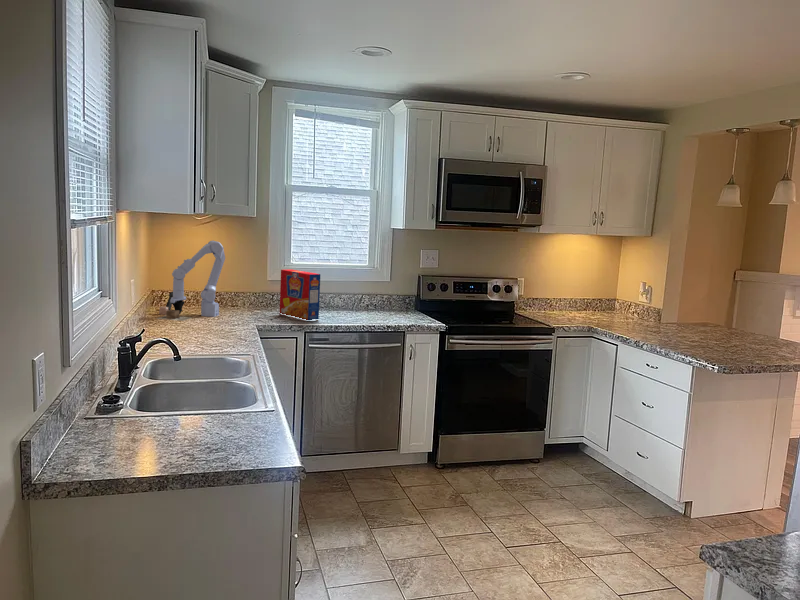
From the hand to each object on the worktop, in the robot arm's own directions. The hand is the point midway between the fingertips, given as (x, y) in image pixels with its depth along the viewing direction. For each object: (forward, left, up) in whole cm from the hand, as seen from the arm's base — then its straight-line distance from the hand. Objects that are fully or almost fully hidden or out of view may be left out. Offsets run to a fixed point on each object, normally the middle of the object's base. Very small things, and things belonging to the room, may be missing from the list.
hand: (178, 314), depth 340 cm
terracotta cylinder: (+10, -3, -2) cm, 11 cm away
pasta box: (-61, -31, -2) cm, 68 cm away
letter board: (-1, +6, -2) cm, 7 cm away
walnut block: (0, +6, -1) cm, 6 cm away
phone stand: (+12, -18, -2) cm, 22 cm away
